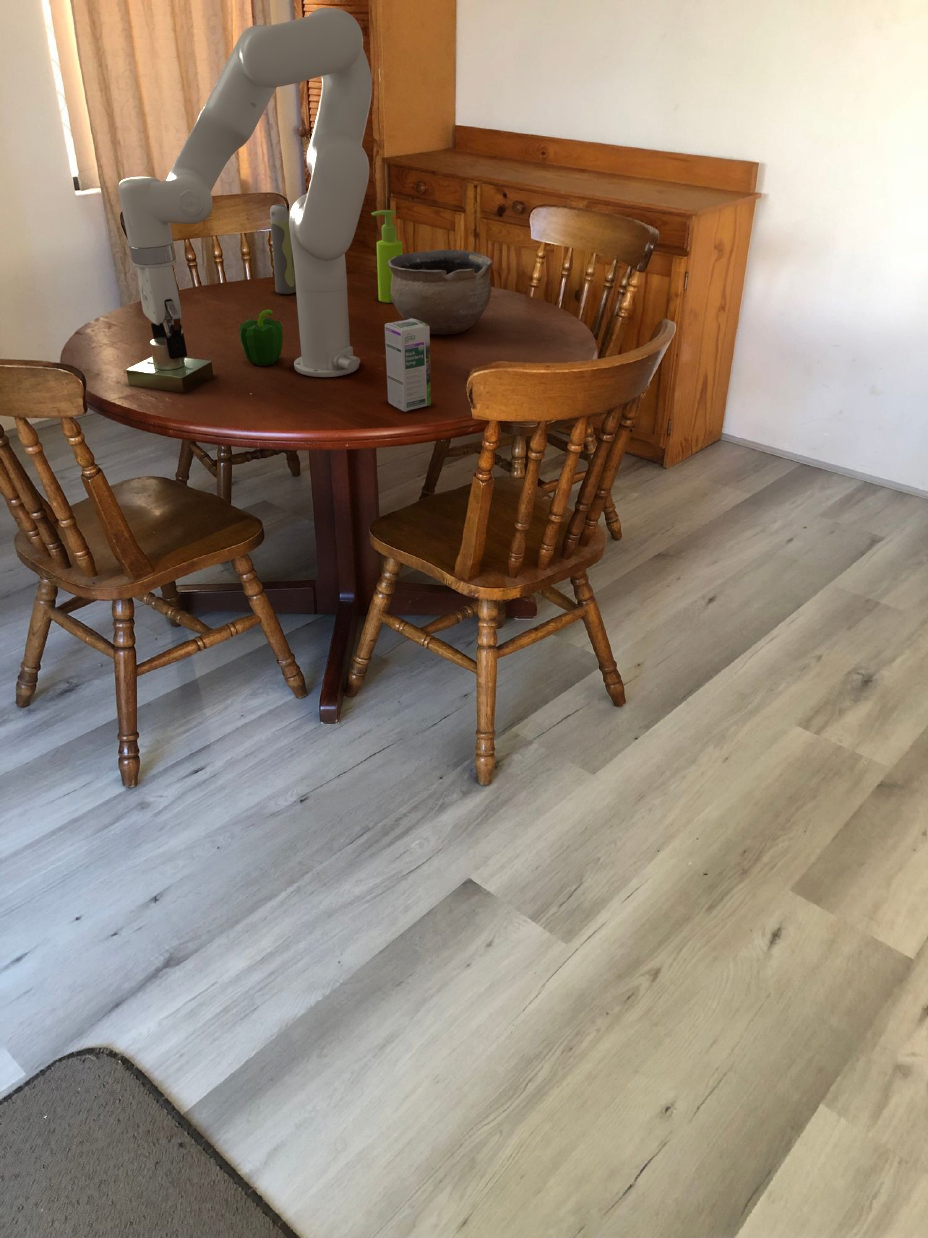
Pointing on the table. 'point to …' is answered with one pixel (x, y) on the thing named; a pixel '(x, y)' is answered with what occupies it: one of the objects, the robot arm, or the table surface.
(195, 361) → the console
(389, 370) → the syrup box
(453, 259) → the ceramic bowl
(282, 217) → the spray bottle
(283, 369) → the table surface
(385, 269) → the soap dispenser
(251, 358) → the bell pepper
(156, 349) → the dial
